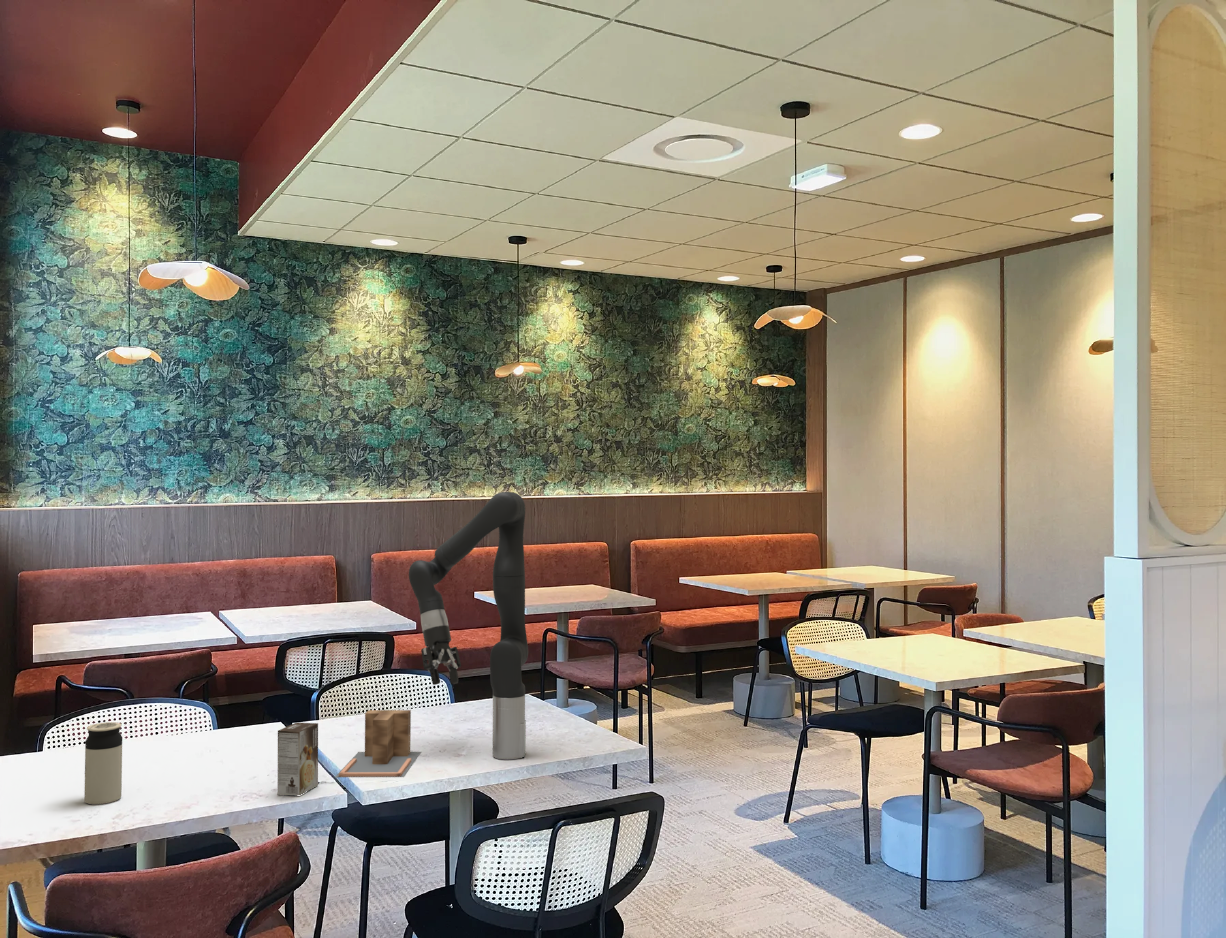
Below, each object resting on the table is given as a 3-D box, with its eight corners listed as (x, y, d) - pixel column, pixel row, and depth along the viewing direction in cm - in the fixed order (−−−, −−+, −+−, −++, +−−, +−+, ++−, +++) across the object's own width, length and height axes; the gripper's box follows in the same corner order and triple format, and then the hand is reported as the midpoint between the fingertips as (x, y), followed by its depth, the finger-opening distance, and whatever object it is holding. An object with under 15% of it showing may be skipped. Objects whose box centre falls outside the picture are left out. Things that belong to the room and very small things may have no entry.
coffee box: (295, 784, 246) (296, 721, 247) (318, 786, 245) (319, 722, 246) (276, 795, 237) (277, 730, 238) (299, 797, 236) (300, 731, 237)
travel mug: (127, 794, 238) (128, 721, 238) (111, 805, 230) (112, 729, 230) (94, 795, 237) (95, 721, 238) (77, 805, 230) (79, 729, 230)
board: (421, 755, 275) (421, 748, 275) (404, 780, 250) (404, 773, 250) (358, 755, 274) (358, 748, 274) (334, 781, 249) (334, 774, 250)
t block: (410, 752, 274) (410, 710, 274) (401, 764, 262) (402, 719, 262) (368, 752, 274) (368, 710, 274) (357, 764, 262) (358, 720, 262)
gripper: (430, 623, 269) (441, 681, 264) (460, 624, 281) (471, 679, 276) (409, 631, 272) (419, 688, 267) (440, 632, 284) (450, 686, 279)
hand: (446, 683), depth 271 cm, fingers open, 8 cm apart
